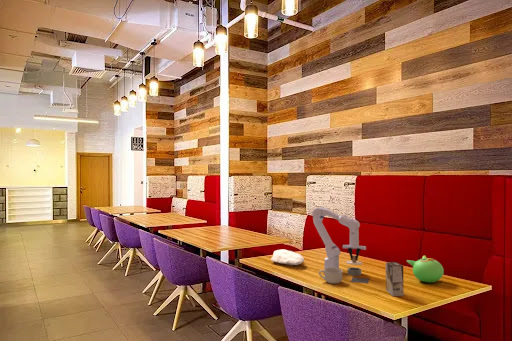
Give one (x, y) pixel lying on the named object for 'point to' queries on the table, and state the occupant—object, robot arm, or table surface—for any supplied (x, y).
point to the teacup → (332, 275)
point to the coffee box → (394, 279)
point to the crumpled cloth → (287, 257)
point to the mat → (360, 280)
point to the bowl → (354, 271)
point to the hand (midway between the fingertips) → (354, 260)
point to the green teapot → (427, 269)
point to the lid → (354, 261)
